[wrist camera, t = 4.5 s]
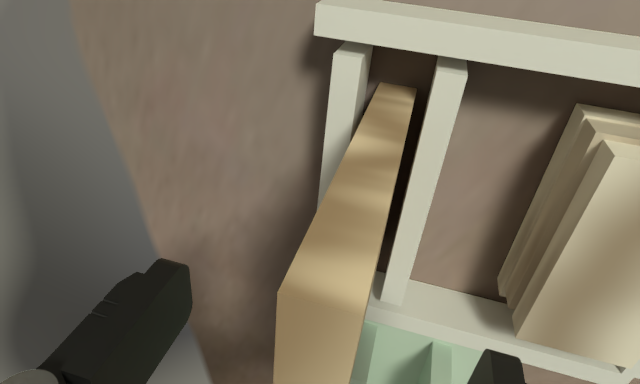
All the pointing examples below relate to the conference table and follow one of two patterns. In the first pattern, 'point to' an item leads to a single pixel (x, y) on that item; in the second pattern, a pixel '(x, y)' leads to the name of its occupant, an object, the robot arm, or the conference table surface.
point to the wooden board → (342, 251)
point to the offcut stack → (582, 244)
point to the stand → (409, 358)
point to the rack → (440, 113)
